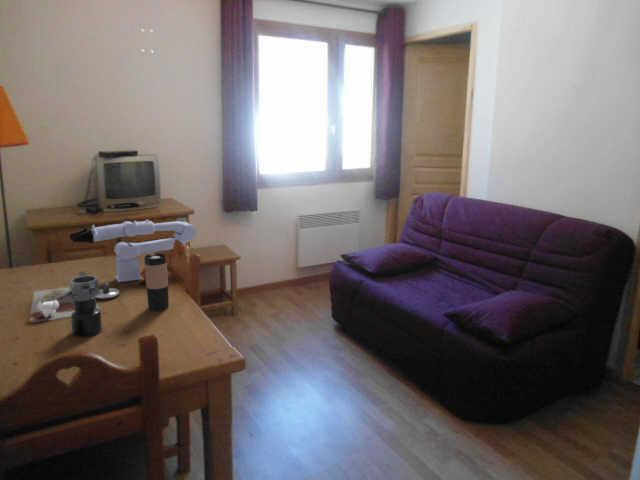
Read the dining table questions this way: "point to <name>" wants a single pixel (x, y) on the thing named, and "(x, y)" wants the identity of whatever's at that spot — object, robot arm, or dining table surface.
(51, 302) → the elephant figurine
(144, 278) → the red bell pepper
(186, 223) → the robot arm
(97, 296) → the lid
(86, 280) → the pot
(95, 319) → the ink bottle
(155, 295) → the travel mug
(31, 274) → the dining table surface
